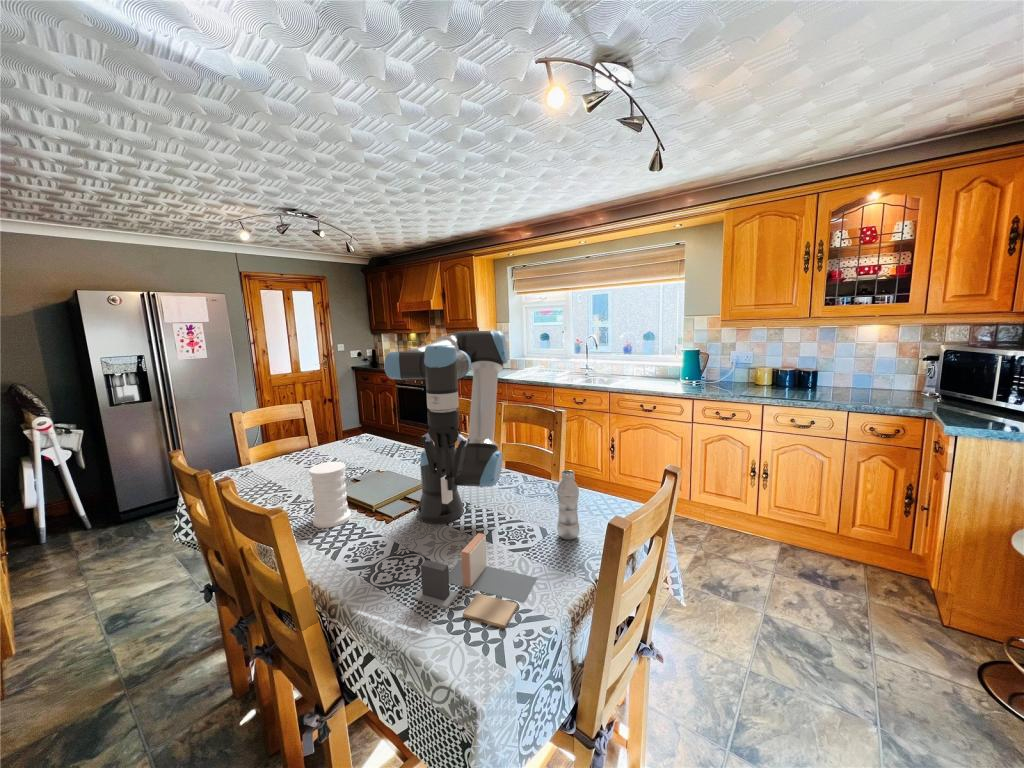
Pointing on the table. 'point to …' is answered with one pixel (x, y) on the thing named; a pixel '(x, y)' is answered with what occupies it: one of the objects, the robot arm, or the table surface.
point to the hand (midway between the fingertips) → (447, 501)
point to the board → (490, 610)
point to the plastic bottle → (568, 506)
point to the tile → (473, 559)
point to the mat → (497, 582)
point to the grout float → (435, 584)
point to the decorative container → (329, 494)
